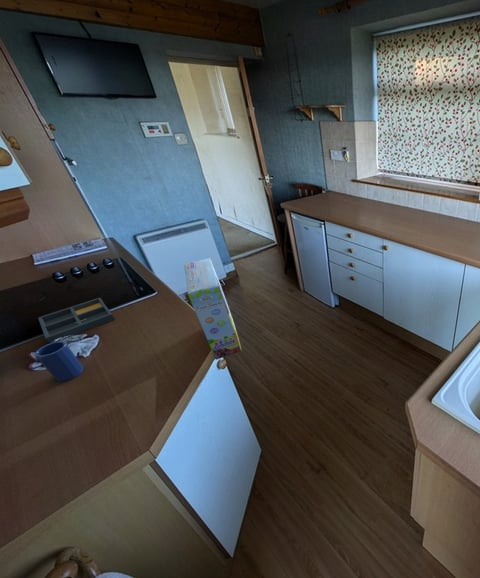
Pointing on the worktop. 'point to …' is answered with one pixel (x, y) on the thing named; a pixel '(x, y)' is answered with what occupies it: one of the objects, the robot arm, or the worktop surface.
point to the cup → (59, 361)
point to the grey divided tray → (75, 319)
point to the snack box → (211, 308)
